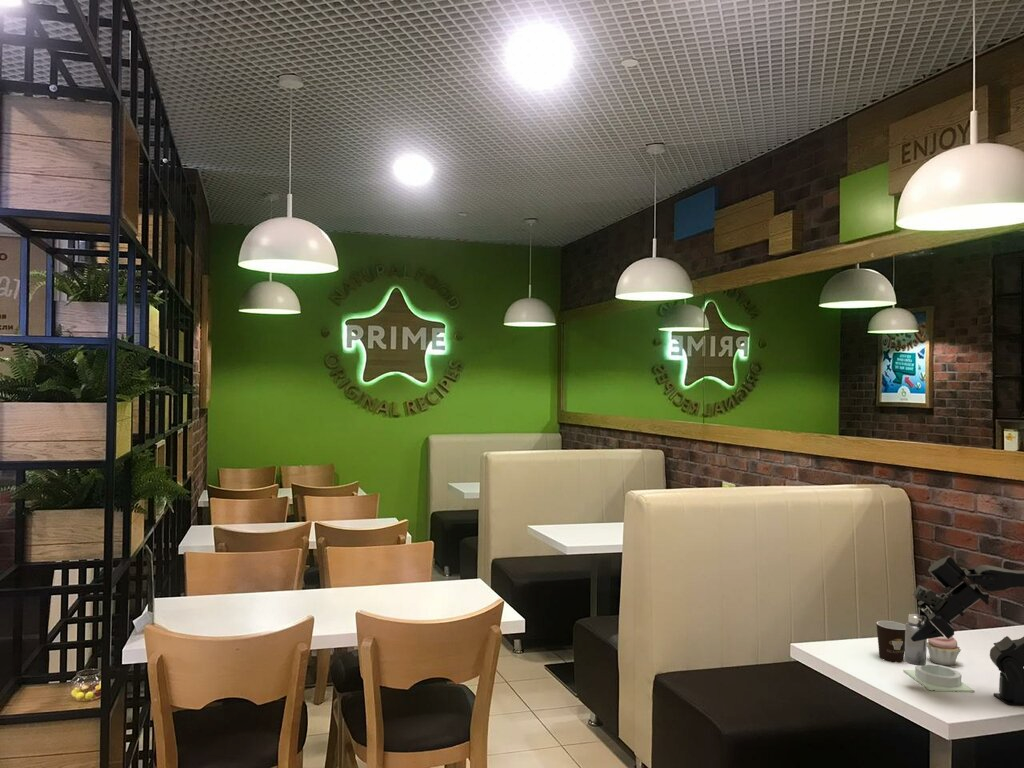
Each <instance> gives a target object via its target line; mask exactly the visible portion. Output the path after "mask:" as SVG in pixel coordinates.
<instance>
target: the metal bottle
mask: <svg viewBox="0 0 1024 768" xmlns="http://www.w3.org/2000/svg"><path fill="white" fill-rule="evenodd" d="M923 624H924V616H922V615H919V613H909V614H908V622H905V624H904V625H905V652H904V658H903V662H905V663H907V664H909V665H912V666H917V665H918V666H924V665H926V664H927V651H928V648H927V642H928V639H925V640H920V641H915V642H913V641H912V640H911V637H912V636H913V635H914V634H915V633H916V632H917V631H918V629H919V628H920V627H921V626H922V625H923Z"/></svg>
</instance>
